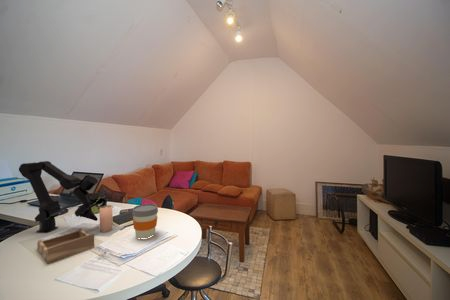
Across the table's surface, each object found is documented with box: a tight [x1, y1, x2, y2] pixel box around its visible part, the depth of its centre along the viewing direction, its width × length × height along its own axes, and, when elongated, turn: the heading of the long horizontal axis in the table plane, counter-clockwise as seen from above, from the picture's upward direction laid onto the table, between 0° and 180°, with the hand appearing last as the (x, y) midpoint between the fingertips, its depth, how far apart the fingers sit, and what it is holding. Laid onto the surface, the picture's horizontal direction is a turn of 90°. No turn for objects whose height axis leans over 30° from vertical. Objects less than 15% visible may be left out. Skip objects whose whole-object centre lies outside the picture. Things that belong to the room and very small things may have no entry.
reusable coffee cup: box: [131, 203, 159, 239], centre depth 103 cm, size 13×13×15 cm
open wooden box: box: [36, 228, 95, 265], centre depth 89 cm, size 18×16×7 cm
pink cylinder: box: [99, 204, 114, 233], centre depth 107 cm, size 6×6×13 cm
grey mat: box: [88, 225, 126, 238], centre depth 107 cm, size 13×13×1 cm
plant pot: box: [91, 197, 101, 214], centre depth 138 cm, size 9×9×9 cm
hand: (103, 216), depth 107 cm, fingers open, 9 cm apart
